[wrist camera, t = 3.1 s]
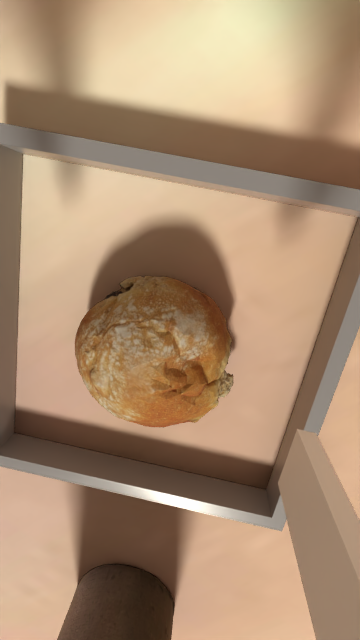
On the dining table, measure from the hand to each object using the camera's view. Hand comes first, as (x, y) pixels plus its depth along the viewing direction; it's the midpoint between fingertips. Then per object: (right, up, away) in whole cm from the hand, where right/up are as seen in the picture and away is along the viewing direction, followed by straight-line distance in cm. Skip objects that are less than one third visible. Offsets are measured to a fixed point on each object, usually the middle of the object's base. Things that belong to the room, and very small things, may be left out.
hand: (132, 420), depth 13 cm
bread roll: (+1, +2, +9) cm, 10 cm away
